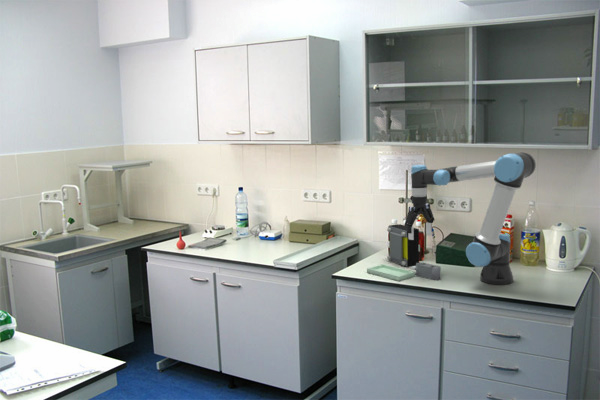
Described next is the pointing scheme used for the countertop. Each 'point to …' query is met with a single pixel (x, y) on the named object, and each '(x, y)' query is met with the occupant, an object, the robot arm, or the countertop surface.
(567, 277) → the countertop surface
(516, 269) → the countertop surface
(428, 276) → the connector
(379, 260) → the countertop surface
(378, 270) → the tray
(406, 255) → the electrical component
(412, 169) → the robot arm
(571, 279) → the countertop surface
